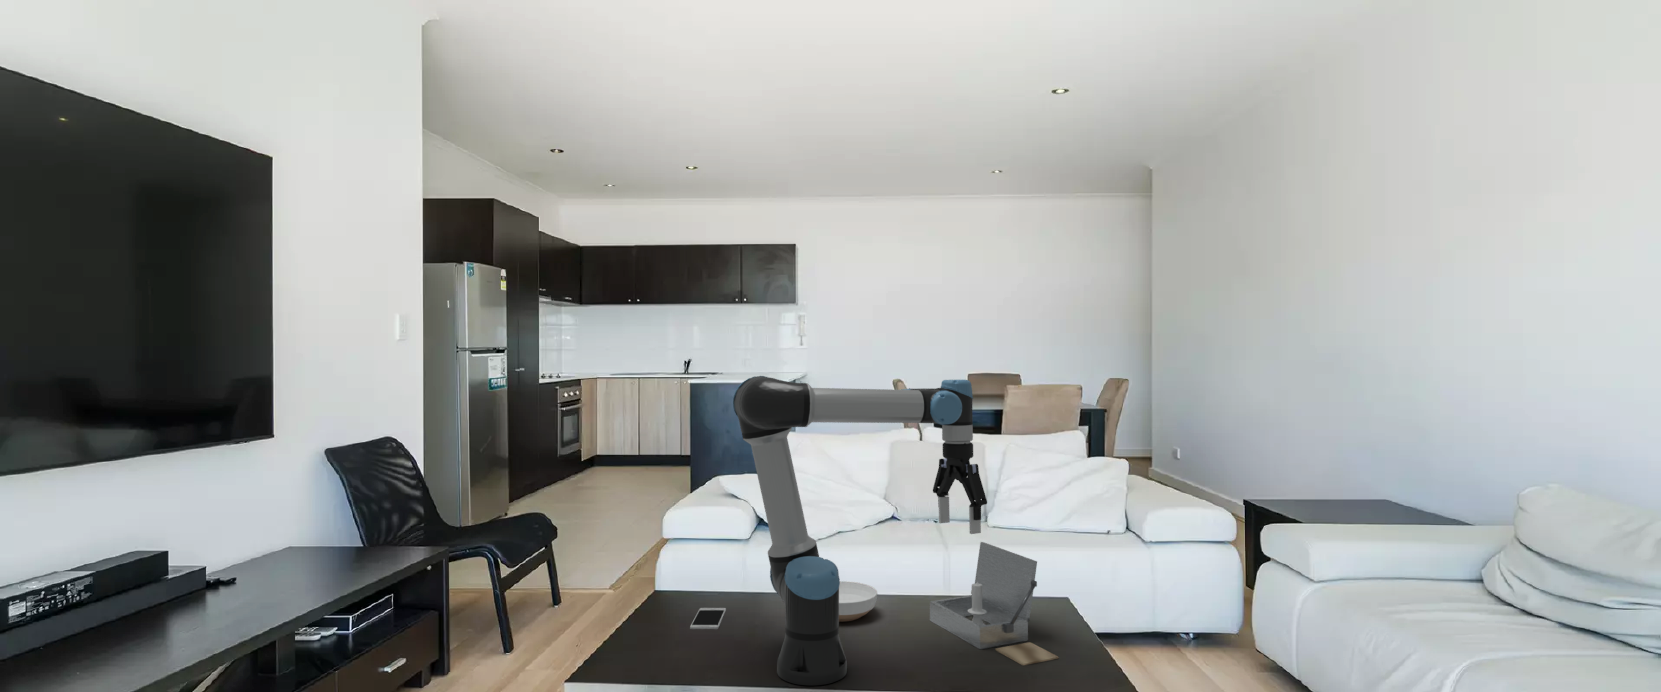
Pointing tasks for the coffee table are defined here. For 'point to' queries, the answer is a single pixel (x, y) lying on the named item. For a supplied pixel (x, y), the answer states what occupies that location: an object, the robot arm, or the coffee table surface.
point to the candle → (977, 604)
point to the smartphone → (708, 618)
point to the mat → (1026, 653)
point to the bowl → (855, 600)
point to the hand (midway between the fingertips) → (959, 527)
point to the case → (992, 600)
